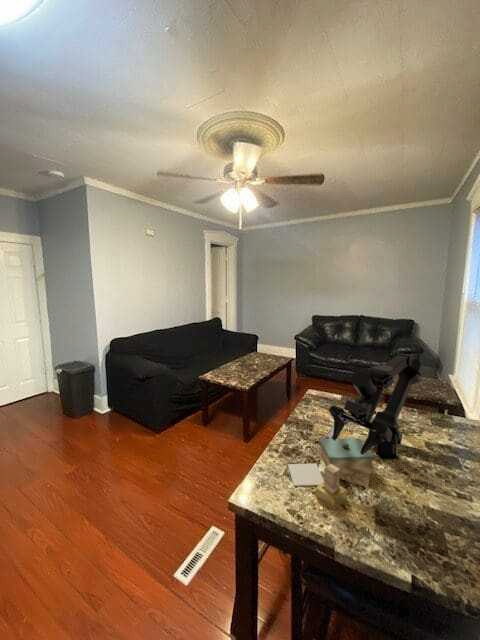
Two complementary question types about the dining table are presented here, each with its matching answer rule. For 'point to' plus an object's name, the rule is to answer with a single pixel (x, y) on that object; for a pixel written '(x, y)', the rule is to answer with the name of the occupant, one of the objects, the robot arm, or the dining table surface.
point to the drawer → (346, 455)
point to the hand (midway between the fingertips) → (347, 446)
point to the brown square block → (331, 479)
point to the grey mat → (305, 474)
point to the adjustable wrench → (331, 432)
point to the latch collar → (331, 496)
